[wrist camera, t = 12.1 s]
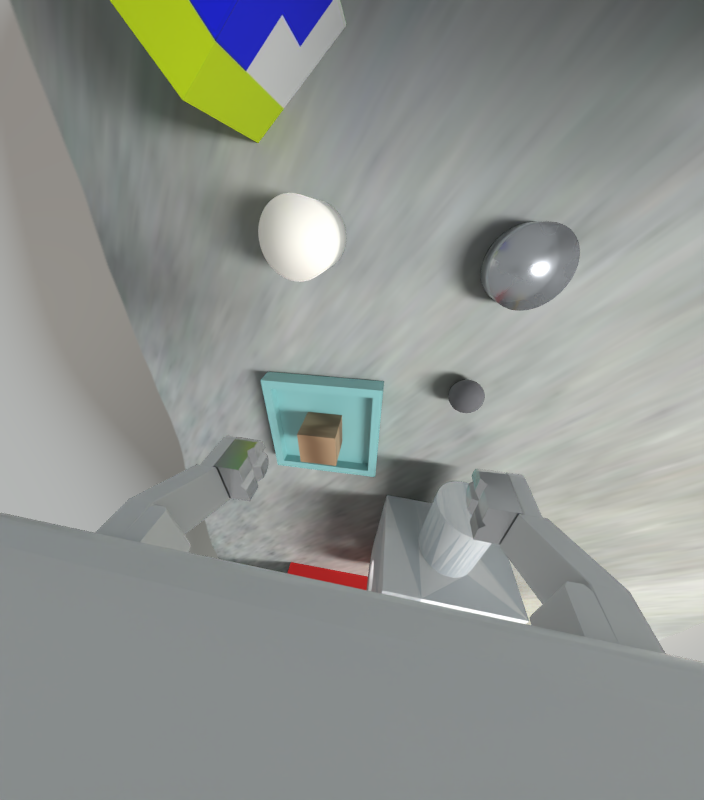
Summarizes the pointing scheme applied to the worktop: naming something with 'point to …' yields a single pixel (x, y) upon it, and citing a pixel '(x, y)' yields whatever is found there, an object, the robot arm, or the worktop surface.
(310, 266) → the ceramic jar
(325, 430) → the walnut block
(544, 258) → the grey metal dome
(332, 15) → the puzzle toy
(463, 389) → the rubber ball
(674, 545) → the worktop surface
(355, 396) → the tray
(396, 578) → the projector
